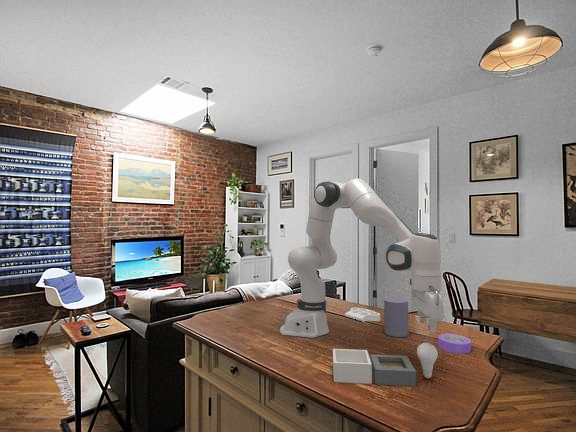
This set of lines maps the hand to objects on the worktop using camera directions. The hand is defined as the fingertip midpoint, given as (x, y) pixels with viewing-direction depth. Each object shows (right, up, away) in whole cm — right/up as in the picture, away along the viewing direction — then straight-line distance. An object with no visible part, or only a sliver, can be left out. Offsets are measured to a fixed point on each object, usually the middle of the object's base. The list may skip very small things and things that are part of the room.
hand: (427, 327), depth 107 cm
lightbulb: (0, -16, 0) cm, 16 cm away
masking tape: (+21, -17, +26) cm, 38 cm away
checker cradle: (-11, -16, +1) cm, 20 cm away
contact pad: (-11, -14, +1) cm, 18 cm away
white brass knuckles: (-5, -18, +69) cm, 71 cm away
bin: (-24, -16, +3) cm, 29 cm away
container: (+4, -17, +43) cm, 46 cm away
